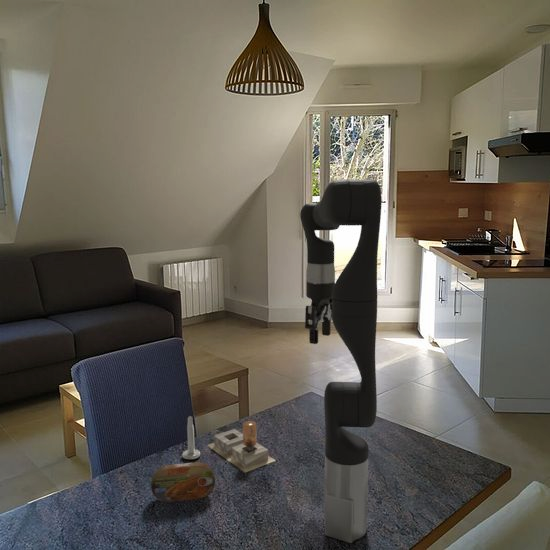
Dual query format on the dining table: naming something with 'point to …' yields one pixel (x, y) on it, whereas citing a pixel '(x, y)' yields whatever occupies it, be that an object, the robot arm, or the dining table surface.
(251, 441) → the copper-coloured round peg
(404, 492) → the dining table surface
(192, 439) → the screw
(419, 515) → the dining table surface
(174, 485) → the tin
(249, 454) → the white peg insertion board
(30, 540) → the dining table surface
